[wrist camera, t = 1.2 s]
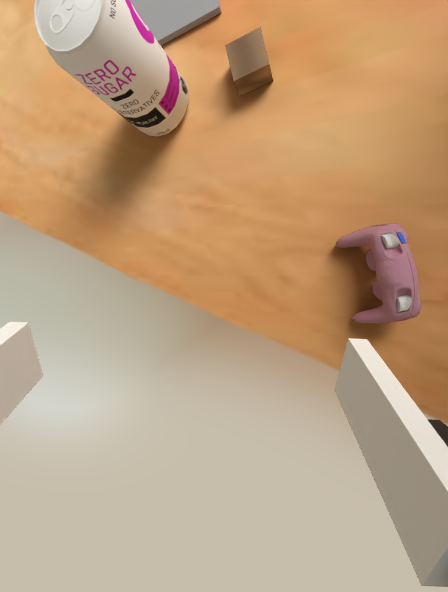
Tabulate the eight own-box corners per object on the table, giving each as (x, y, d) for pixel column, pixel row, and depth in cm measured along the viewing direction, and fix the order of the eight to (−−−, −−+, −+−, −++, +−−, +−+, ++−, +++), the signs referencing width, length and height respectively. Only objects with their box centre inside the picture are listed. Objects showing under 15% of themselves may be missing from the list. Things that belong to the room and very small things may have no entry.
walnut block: (265, 47, 33) (260, 26, 31) (273, 81, 33) (269, 63, 31) (232, 64, 35) (225, 45, 32) (240, 96, 35) (233, 81, 32)
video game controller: (386, 316, 33) (440, 319, 26) (349, 325, 32) (395, 331, 26) (367, 230, 33) (416, 211, 26) (330, 238, 32) (371, 221, 25)
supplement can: (165, 57, 37) (71, -78, 23) (203, 104, 36) (128, -6, 22) (123, 106, 39) (13, 12, 25) (157, 152, 38) (63, 81, 24)
